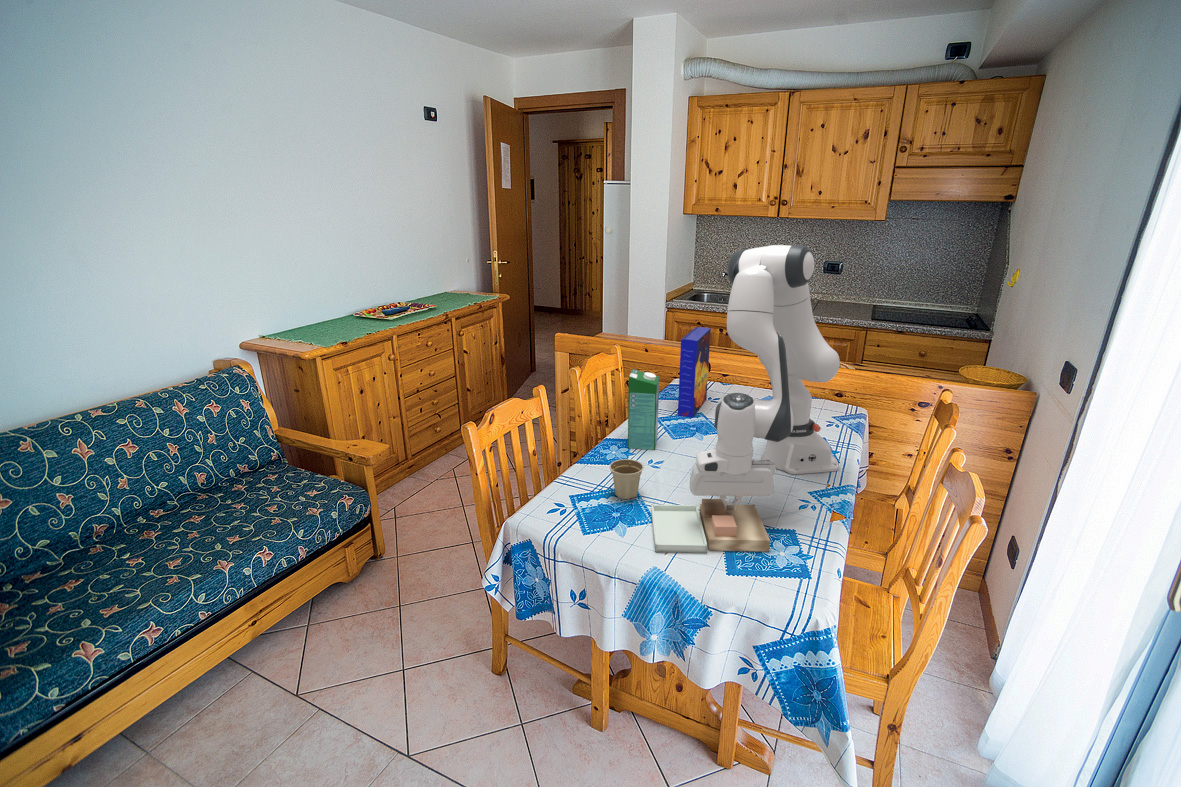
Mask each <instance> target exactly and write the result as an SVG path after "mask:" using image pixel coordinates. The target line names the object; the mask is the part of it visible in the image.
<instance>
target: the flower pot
mask: <svg viewBox="0 0 1181 787" xmlns="http://www.w3.org/2000/svg"><path fill="white" fill-rule="evenodd" d="M644 467H645V466H644V464H643V463H642V462H640V461H638V460H635V459H630V458H625V459H624V458H622V459H616V460H614V461H611V463H609V469H610V471H611V472H610V473H611V474H612V479H613V480H612V481H613V486H614V494H615V496H616V497H618V498H619V499H623V500H630V499H632V498H636V497H637V496H638V491H639V486H640V481H641V475H642V473H643V470H644V469H645V468H644Z"/></svg>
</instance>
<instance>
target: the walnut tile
mask: <svg viewBox="0 0 1181 787" xmlns="http://www.w3.org/2000/svg"><path fill="white" fill-rule="evenodd" d="M700 504H701V508H702V511H703V515H704V518H712V515H725V507H724V504H723V502H722V500H721V498H701V503H700Z"/></svg>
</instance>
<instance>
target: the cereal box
mask: <svg viewBox="0 0 1181 787" xmlns="http://www.w3.org/2000/svg"><path fill="white" fill-rule="evenodd" d="M711 332H712V328H711V327H710V328H709V327H704V326H702V327H701V326H700V327H697V326H696V327H694V328H693V329H691V330H690V332H689V333H687V334H686V335H685V336H683V337H682V338H681V339H680V352H679V356H680V357H679V377H678V378H679V380H678V401H677V403H678V404H677V416H678V417H683V418H684V417H685V418H691V419H693V418H694V417H695V416H696V415H697V413H698V412H699V411H700V409H701V408H702V406H703V405H704V404H705V402H706V401H707V397H708V396H707V394H708V380H709V379H708V378H709V362H710V361H709V360H710V350H711V349H710V348H711V347H710V346H711V345H710V344H711Z"/></svg>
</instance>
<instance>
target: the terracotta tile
mask: <svg viewBox="0 0 1181 787" xmlns="http://www.w3.org/2000/svg"><path fill="white" fill-rule="evenodd" d="M711 524H712V528H713V532H714V535H715V536H736V533H737V526H736V523H735V520H734V517H733V516H726V515H712V523H711Z"/></svg>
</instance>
